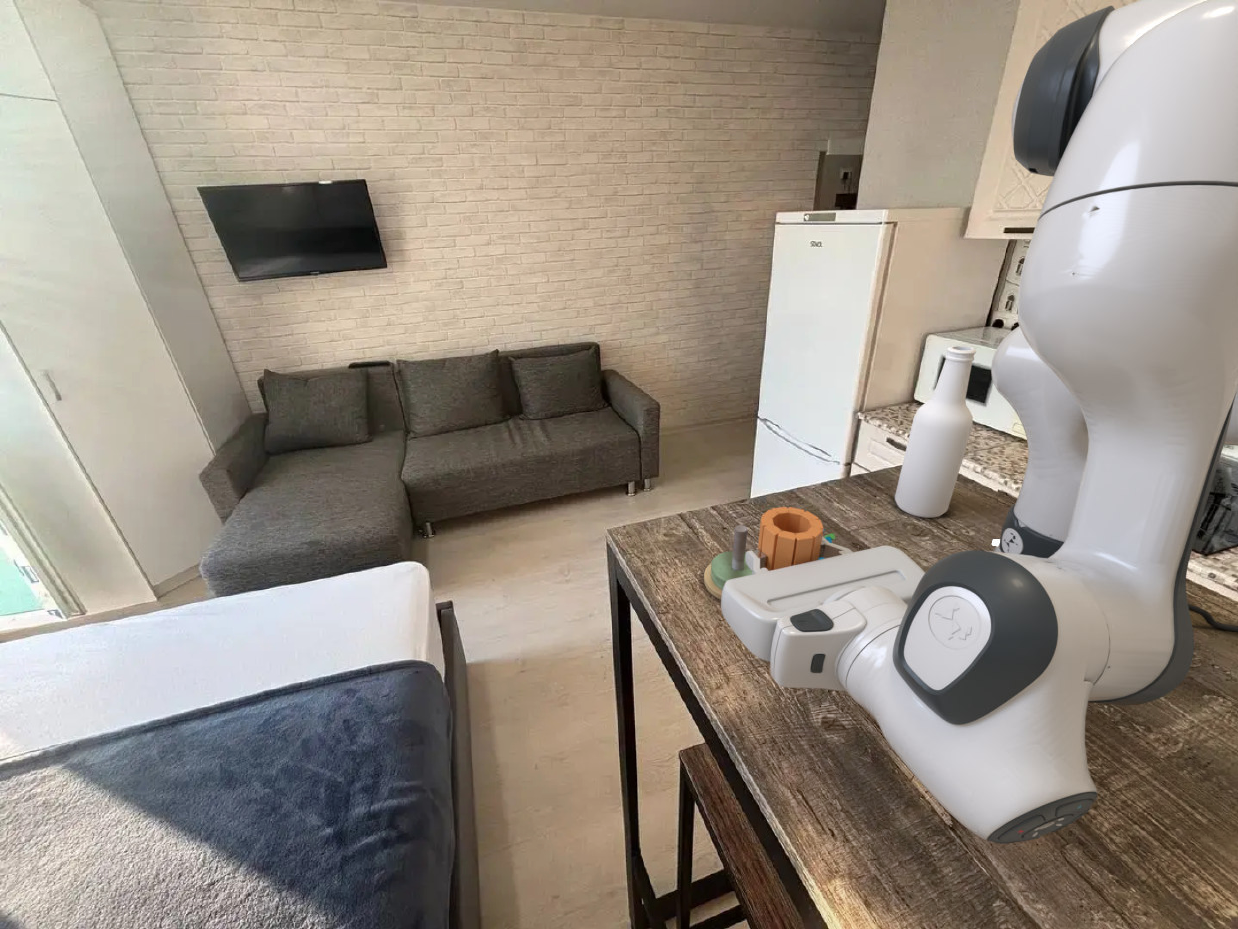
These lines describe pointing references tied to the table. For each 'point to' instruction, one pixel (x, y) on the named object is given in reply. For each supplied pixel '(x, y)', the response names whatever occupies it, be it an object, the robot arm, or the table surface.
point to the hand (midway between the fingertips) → (782, 548)
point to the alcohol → (938, 441)
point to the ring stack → (728, 564)
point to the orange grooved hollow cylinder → (789, 537)
